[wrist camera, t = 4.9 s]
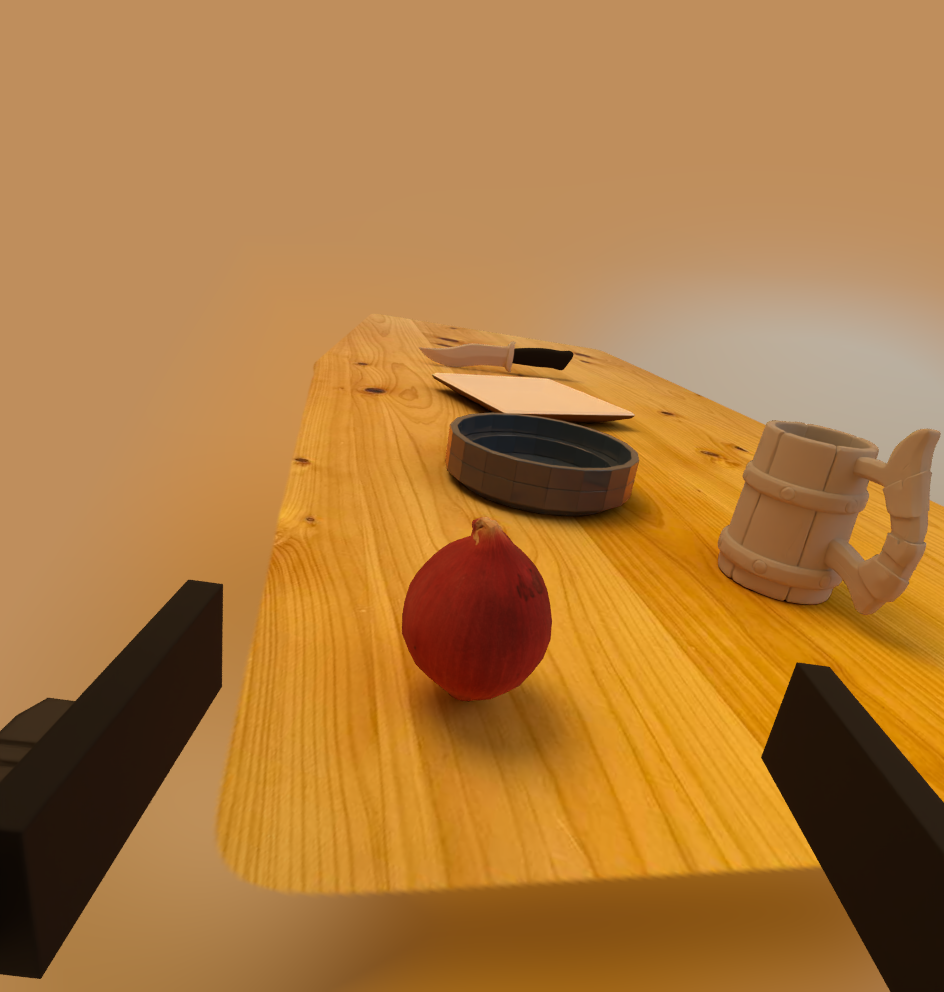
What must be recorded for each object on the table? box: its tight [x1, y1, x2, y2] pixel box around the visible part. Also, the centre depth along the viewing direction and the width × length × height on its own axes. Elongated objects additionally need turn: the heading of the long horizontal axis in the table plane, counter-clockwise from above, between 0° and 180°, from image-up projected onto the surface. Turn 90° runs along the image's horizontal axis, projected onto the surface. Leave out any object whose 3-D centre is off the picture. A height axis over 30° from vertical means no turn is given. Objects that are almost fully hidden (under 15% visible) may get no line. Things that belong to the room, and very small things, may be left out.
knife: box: [419, 342, 573, 372], centre depth 103 cm, size 25×2×5 cm, turn 101°
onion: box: [402, 517, 552, 702], centre depth 25 cm, size 6×6×8 cm
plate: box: [432, 373, 635, 423], centre depth 81 cm, size 19×19×2 cm
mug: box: [718, 420, 940, 615], centre depth 39 cm, size 8×12×12 cm, turn 22°
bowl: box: [445, 413, 639, 516], centre depth 53 cm, size 15×15×4 cm
